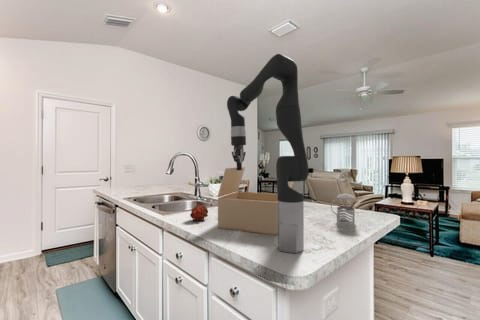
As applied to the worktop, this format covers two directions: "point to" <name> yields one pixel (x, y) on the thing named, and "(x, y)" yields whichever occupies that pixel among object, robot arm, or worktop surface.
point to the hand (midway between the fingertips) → (239, 170)
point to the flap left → (230, 181)
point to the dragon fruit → (199, 213)
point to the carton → (249, 212)
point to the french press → (343, 221)
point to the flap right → (290, 184)
